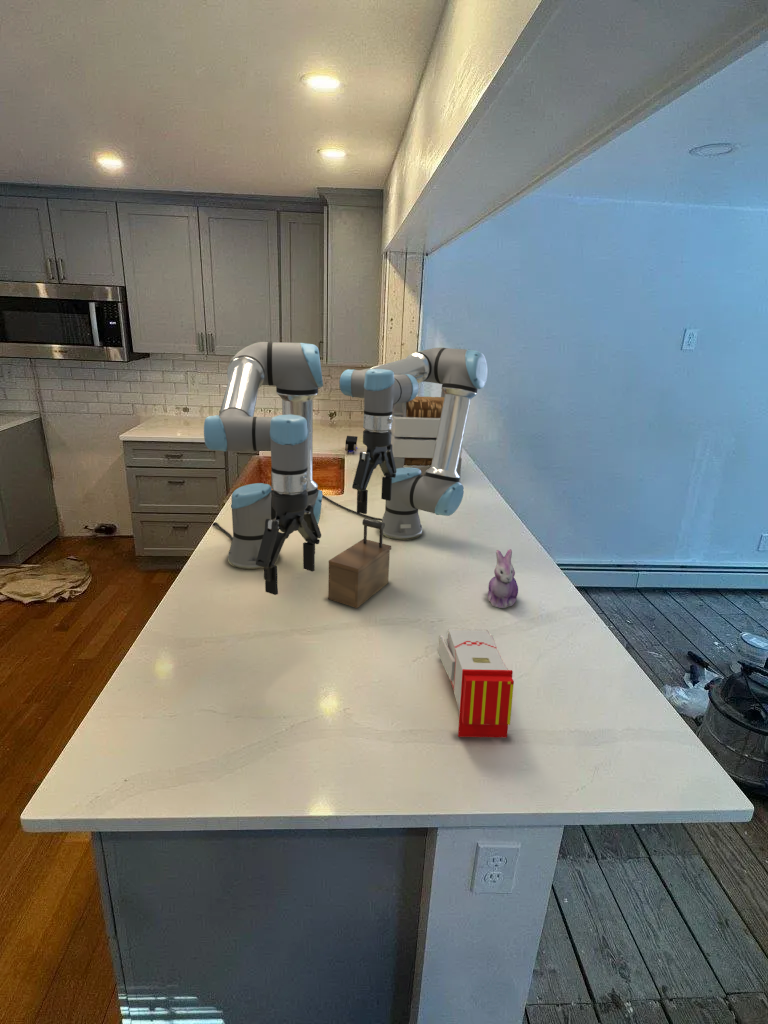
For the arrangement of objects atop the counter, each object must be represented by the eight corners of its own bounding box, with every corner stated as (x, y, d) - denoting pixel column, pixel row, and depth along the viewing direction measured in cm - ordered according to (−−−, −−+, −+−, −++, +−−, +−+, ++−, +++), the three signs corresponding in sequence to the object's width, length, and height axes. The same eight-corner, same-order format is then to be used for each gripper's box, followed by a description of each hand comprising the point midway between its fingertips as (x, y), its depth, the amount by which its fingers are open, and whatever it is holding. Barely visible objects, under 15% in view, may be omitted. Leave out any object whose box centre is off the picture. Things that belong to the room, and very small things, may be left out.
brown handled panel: (363, 542, 165) (364, 514, 162) (391, 549, 161) (392, 520, 158) (328, 564, 150) (328, 534, 147) (358, 572, 146) (359, 541, 143)
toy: (488, 613, 130) (523, 677, 101) (484, 667, 133) (517, 744, 104) (435, 612, 130) (455, 676, 101) (432, 666, 133) (451, 743, 103)
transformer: (382, 463, 289) (386, 382, 275) (445, 464, 293) (451, 384, 279) (390, 482, 257) (394, 392, 243) (460, 483, 261) (468, 394, 247)
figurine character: (357, 457, 303) (357, 447, 317) (357, 444, 300) (358, 434, 313) (344, 457, 303) (345, 447, 317) (344, 443, 300) (345, 434, 313)
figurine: (500, 612, 150) (506, 561, 145) (477, 595, 159) (482, 546, 153) (527, 605, 154) (535, 555, 149) (504, 589, 163) (510, 541, 158)
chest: (360, 575, 168) (362, 543, 164) (388, 583, 164) (389, 550, 160) (328, 599, 153) (328, 564, 150) (357, 608, 149) (358, 573, 146)
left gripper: (265, 509, 107) (268, 608, 114) (337, 479, 128) (335, 564, 135) (235, 502, 111) (239, 598, 118) (309, 473, 131) (309, 557, 139)
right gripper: (365, 440, 137) (363, 521, 144) (410, 424, 158) (406, 496, 165) (339, 435, 140) (338, 516, 148) (387, 421, 161) (384, 492, 168)
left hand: (291, 580), depth 127 cm, fingers open, 13 cm apart
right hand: (374, 506), depth 156 cm, fingers open, 13 cm apart
